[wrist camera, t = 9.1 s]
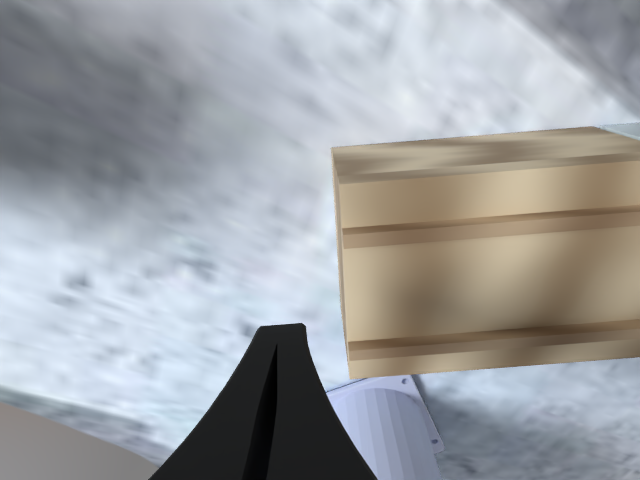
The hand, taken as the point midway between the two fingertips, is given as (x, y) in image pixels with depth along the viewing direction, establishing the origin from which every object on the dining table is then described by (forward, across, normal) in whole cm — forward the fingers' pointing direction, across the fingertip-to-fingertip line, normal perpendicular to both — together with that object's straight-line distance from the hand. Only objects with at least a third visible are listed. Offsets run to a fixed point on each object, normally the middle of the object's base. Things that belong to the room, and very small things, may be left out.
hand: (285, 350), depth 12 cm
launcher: (+10, -10, +2) cm, 15 cm away
